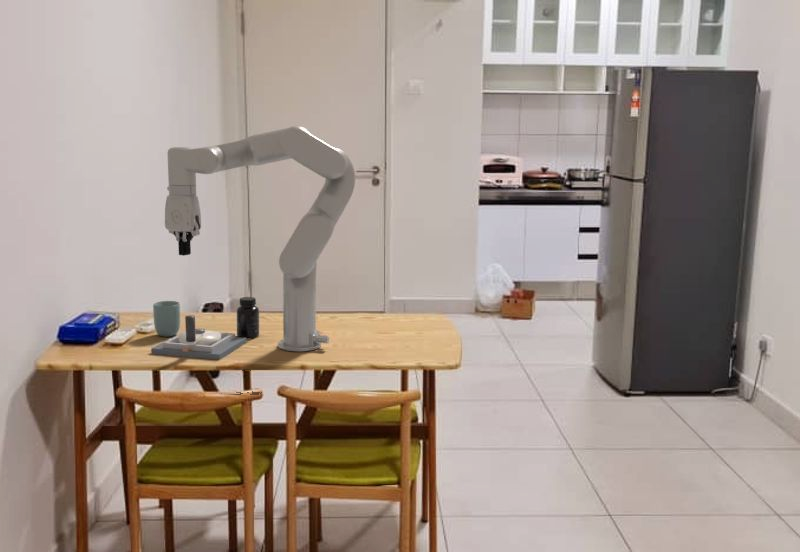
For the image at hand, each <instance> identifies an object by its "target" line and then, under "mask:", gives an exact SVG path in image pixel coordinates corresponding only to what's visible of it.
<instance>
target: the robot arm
mask: <svg viewBox="0 0 800 552" xmlns="http://www.w3.org/2000/svg"><path fill="white" fill-rule="evenodd" d="M290 159H292V160H294V161H295V162H296V163H298V164H300V165H302V166H303V167H305V168H306V169H308V170H311V171H312V172H313V173H315V174H317V175H318V176H320V177H322V178H324V180H325V181H324V184H323V186H322V188H321V189H320V191H319V192H318V195H317V197H316V199H315V200H314V202H313V203H312V205H311V207H310V208H309V210H308V211H307V212H306V213H305V214H304V215H303V216H302V218H301V219H300V221H299V222H298V223H297V226H296V228H295V229H294V231H293V233H292V234H291V236H290V238H289V239H288V241H287V242H286V245H285V246H284V248H283V249H282V251H281V252H280V255H279V258H278V265H279V268H280V271H281V273H283V277H282V285H283V286H282V305H283V306H282V313H283V319H282V320H283V321H282V322H283V323H282V324H283V325H282V326H283V327H282V328H283V329H282V330H283V338H282V339H280V340H278V342H277V345H278V346H277V347H278V348H279V349H281V350H284V351H289V352H308V351H314V350H317V349H319V348H320V347H321V346H322V344H329V343H330V337H329V336H328V335H326V334H323V335H322V334H320V330H319V329H316V328H317V327H316V326H317V325H316V322H317V321H316V320H317V319H316V318H317V317H316V312H317V311H316V307H317V306H316V298H317V296H316V295H317V261H318V259H319V258H320V256H321V254H322V253H323V251H324V249H325V248H326V246H327V245H328V243H329V241H330V239H331V238H332V235H333V233H334V231H335V230H334V229H335V227H336V225H337V224H338V222H339V219H340V218H341V216H342V214H343V213H344V211H345V209H346V207H347V206H348V204H349V202H350V200H351V198H352V195H353V193H354V189H355V186H356V174H355V172H356V171H355V169H354V165H353V163H352V160H351V159H350V157H349V156H348V154H347V153H346V152H345V151H343V149H341V148H338V147H333V146H332V145H330V144H328V143H326V142H324V141H323V140H321V139H319V138H318V137H316V136H314V135H313V134H311V132H310V131H309V129H307V128H306V127H304V126H300V125H298V126H297V125H294V126H290V127H286V128H281V129H277V130H272V131H268V132H263V133H257V134H253V135H250V136H247V137H246V138H244V139H240V140H236V141H231V142H227V143H222V144H217V145H212V146H211V145H210V146H204V147H199V148H197V147H196V148H192V147H189V146H188V147H186V146H181V147H179V146H176V147H175V146H173V147H169V149H168V150H167V175H168V186H167V187H166V188H167V191H168V195H167V196H166V200H165V209H164V226H165V229H166V230H168V233H169V234H171V235H174V237H175V239H176V241H177V242H178V255H179V256H189V255H191V254H192V251H191V247H192V246H191V242H192V241H193V238H194V237H197V236H200V233H201V232H200V230H201V227H202V217H201V208H200V202H199V197H198V195H197V175H196V174H201V175H211V174H214V173H219V172H222V171H227V170H228V171H229V170H233V169H237V168H241V167H247V166H263V165H266V164H271V163H275V162H276V163H277V162H281V161H285V160H290Z"/></svg>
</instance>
